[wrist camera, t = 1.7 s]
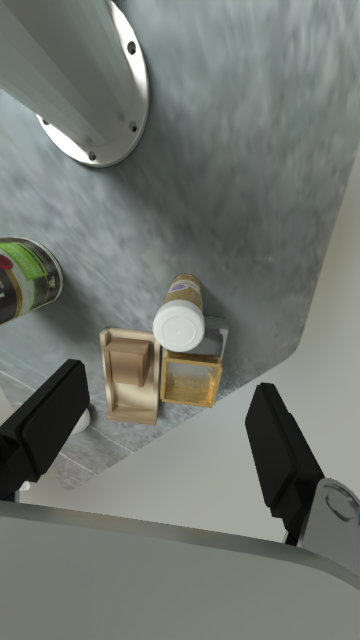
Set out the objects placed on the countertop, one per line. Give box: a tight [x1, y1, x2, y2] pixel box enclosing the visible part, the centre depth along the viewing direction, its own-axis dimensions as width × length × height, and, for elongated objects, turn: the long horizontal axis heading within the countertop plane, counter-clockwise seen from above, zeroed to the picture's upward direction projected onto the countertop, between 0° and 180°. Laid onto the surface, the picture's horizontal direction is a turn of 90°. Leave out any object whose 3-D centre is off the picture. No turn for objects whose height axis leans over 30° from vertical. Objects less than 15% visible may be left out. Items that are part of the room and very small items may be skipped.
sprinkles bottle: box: [153, 274, 205, 352], centre depth 22 cm, size 5×5×13 cm
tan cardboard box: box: [104, 337, 150, 387], centre depth 31 cm, size 6×6×4 cm
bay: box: [100, 327, 162, 425], centre depth 34 cm, size 18×10×4 cm, turn 175°
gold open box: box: [160, 315, 229, 408], centre depth 29 cm, size 12×9×7 cm
